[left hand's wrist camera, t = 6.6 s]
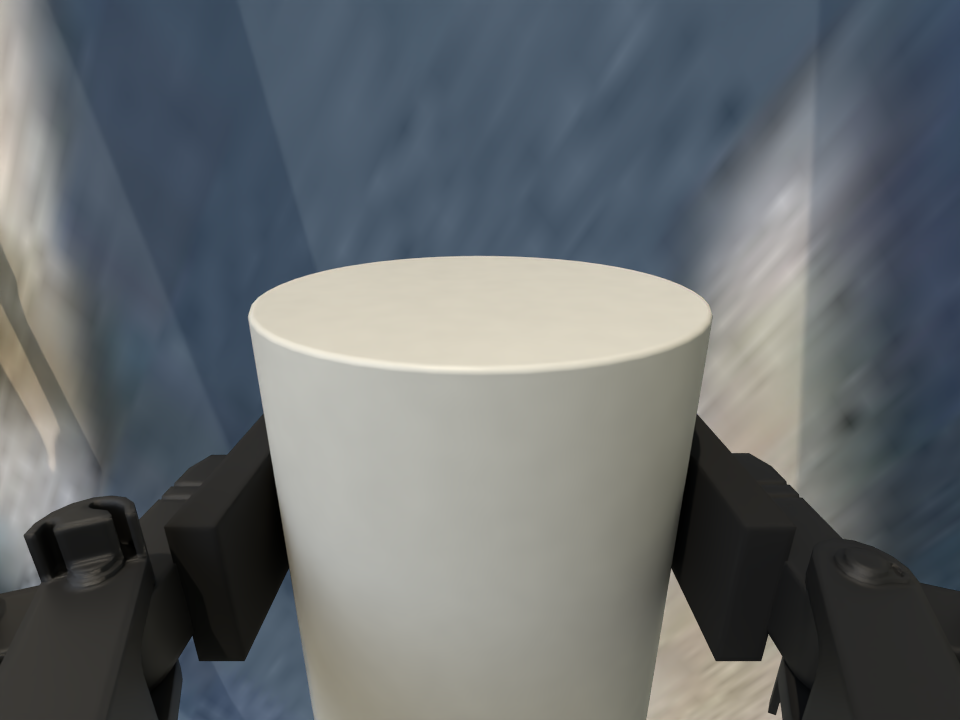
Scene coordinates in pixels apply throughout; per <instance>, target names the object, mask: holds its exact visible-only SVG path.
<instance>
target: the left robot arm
mask: <svg viewBox="0 0 960 720" xmlns="http://www.w3.org/2000/svg"><path fill="white" fill-rule="evenodd" d="M24 538H25V540H26V543H27V546H28V548H29V551H30V553H31V556H32V559H33V561H34V564H35V566H36V569H37V572H38V574H39V577H40V579H41V584H40V585H39V586H34V587H30V588H25V589H21V590H16V591H11V592H7V593H2V594H0V720H178V712H179V704H180V696H181V688H182V680H183V679H182V672H181V667H180V663H179V660H178V658H179V656H180V655H181V653H182V652H183V650H184V648H185V647H186V645H187V643H188V642H189V640H190V639H191V637H192V636H193V640H194V643H195V647H196V651H197V655H198V659H199V661H245V659H246V657H247V655H248V653H249V651H250V648H251V646H252V644H253V642H254V640H255V638H256V636H257V634H258V632H259V630H260V628H261V625H262V623H263V621H264V619H265V617H266V615H267V613H268V611H269V609H270V607H271V605H272V602H273V600H274V598H275V596H276V594H277V592H278V590H279V588H280V586H281V584H282V582H283V579H284V577H285V575H286V573H287V571H288V569H289V562H288V556H287V550H286V544H285V538H284V532H283V526H282V520H281V514H280V508H279V502H278V496H277V490H276V484H275V478H274V471H273V465H272V459H271V453H270V447H269V441H268V435H267V429H266V423H265V417H264V414H263V415H262V416H261V417H260V418H259V420H258V421H257V422H256V423H255V424H254V425H253V426H252V427H251V429H250V430H249V431H248V432H247V433H246V434H245V435H244V436H243V438H242V439H241V440H240V441H239V442H238V443H237V444H236V446H235V447H234V448H233V449H232V450H231V451H230V452H229V453H228V455H211V456H209V457H207V458H206V459H204V460H202V461H200V462H199V463H197V464H195V465H194V466H192V467H190V468H189V469H188V470H187V471H186V472H185V473H184V474H183V475H182V476H181V477H180V478H179V479H178V480H177V481H176V482H175V483H174V486H171V487H170V488H169V489H168V491H167V492H166V493H165V494H164V495H163V496H162V499H161V500H158V501H157V502H156V503H155V504H154V505H153V506H152V507H151V508H150V509H149V510H148V511H147V512H146V513H145V514H144V515H143V516H142V517H141V518H140V519H138V515H137V512H136V508H135V504H134V503H133V502H132V501H130V500H129V499H127V498H126V497H118V496H104V497H95V498H90V499H87V500H83V501H79V502H76V503H72V504H70V505H68V506H65V507H63V508H61V509H59V510H56V511H54V512H52V513H50V514H49V515H47V516H46V517H44V518H42V519H41V520H39V521H38V522H36V523H35V524H34V525H33V526H32V527H31V528H30V529H29V530H28V531H27V532H26V533H25V534H24ZM671 568H672V570H673V572H674V575H675V577H676V579H677V581H678V583H679V585H680V587H681V589H682V591H683V593H684V595H685V598H686V600H687V602H688V604H689V606H690V608H691V610H692V612H693V614H694V616H695V618H696V621H697V623H698V625H699V627H700V629H701V631H702V633H703V635H704V637H705V639H706V641H707V644H708V646H709V648H710V650H711V652H712V654H713V656H714V658H715V660H716V661H761V660H762V656H763V653H764V649H765V645H766V641H767V637H768V634H769V635H770V637H771V639H772V640H773V642H774V643H775V645H776V647H777V648H778V650H779V651H780V653H781V655H782V660H781V663H780V667H779V670H778V674H777V677H776V681H775V685H774V688H773V692H772V695H771V699H770V703H769V710H768V713H771V714H774V715H776V713H777V709H778V706H779V703H780V702H781V710H782V718H783V720H960V591H955V590H951V589H946V588H941V587H937V586H932V585H927V584H923V583H919V581H918V580H917V579H916V577H915V576H914V575H913V574H912V572H911V571H910V570H909V569H908V568H907V567H906V566H904V565H903V564H902V563H900V562H899V561H898V560H897V559H895V558H894V557H892V556H890V555H889V554H887V553H885V552H883V551H881V550H879V549H877V548H875V547H872V546H869V545H866V544H863V543H860V542H857V541H853V540H845V539H842V538H841V537H840V536H839V535H838V534H837V533H836V532H835V531H834V530H833V529H832V528H831V527H830V526H829V525H828V524H827V523H826V522H825V521H824V519H823V518H822V517H821V516H820V515H819V514H818V513H817V512H816V511H815V510H814V509H813V508H812V507H811V506H810V505H809V504H808V503H807V502H806V501H805V500H804V499H803V498H799V494H798V493H797V492H796V491H795V490H794V489H793V488H792V487H791V486H790V485H787V483H786V481H785V480H784V479H783V478H782V477H781V476H780V475H779V474H778V472H777V471H776V470H775V469H774V468H773V467H772V466H770V465H768V464H767V463H765V462H763V461H761V460H760V459H758V458H756V457H755V456H753V455H751V454H749V453H731V452H730V451H729V450H728V448H727V447H726V446H725V445H724V444H723V443H722V442H721V441H720V439H719V438H718V437H717V436H716V435H715V434H714V433H713V432H712V430H711V429H710V428H709V427H708V426H707V425H706V424H705V422H704V421H703V420H702V419H701V418H700V417H699V416H698V415H696V421H695V427H694V433H693V439H692V445H691V451H690V457H689V463H688V469H687V475H686V481H685V487H684V493H683V499H682V505H681V511H680V517H679V524H678V530H677V536H676V542H675V548H674V554H673V560H672V566H671Z"/></svg>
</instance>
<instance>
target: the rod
mask: <svg viewBox="0 0 960 720" xmlns="http://www.w3.org/2000/svg"><path fill="white" fill-rule="evenodd" d="M712 318H713V316H712V313H711V310H710V307H709V304H708V303H707V302H706V301H705V300H704V299H703V298H702V297H701V296H699V295H698V294H697V293H695V292H694V291H692V290H690V289H688V288H686V287H684V286H682V285H679V284H677V283H674V282H672V281H669V280H666V279H663V278H660V277H657V276H653V275H650V274H646V273H642V272H638V271H634V270H629V269H624V268H619V267H613V266H607V265H601V264H594V263H586V262H578V261H569V260H559V259H546V258H530V257H505V256H455V257H431V258H415V259H402V260H392V261H382V262H374V263H367V264H360V265H353V266H347V267H342V268H337V269H332V270H327V271H323V272H319V273H314V274H310V275H307V276H304V277H300V278H297V279H294V280H292V281H289V282H286V283H284V284H281V285H279V286H277V287H275V288H273V289H271V290H269V291H267V292H266V293H264V294H263V295H261V296H260V297H258V298H257V299H256V301H255V302H254V303H253V304H252V306H251V309H250V312H249V315H248V320H249V326H250V332H251V338H252V344H253V350H254V356H255V362H256V368H257V374H258V380H259V387H260V393H261V399H262V405H263V411H264V417H265V423H266V429H267V435H268V441H269V447H270V453H271V459H272V465H273V471H274V478H275V484H276V490H277V496H278V502H279V508H280V514H281V520H282V526H283V532H284V538H285V544H286V550H287V556H288V562H289V569H290V575H291V581H292V587H293V593H294V599H295V605H296V611H297V617H298V623H299V629H300V635H301V641H302V647H303V653H304V659H305V666H306V672H307V678H308V684H309V690H310V696H311V702H312V708H313V714H314V720H646V717H647V711H648V705H649V699H650V693H651V687H652V681H653V675H654V669H655V663H656V657H657V651H658V644H659V638H660V632H661V626H662V620H663V614H664V608H665V602H666V596H667V590H668V584H669V578H670V572H671V566H672V560H673V554H674V548H675V542H676V536H677V530H678V524H679V517H680V511H681V505H682V499H683V493H684V487H685V481H686V475H687V469H688V463H689V457H690V451H691V445H692V439H693V433H694V427H695V421H696V415H697V409H698V403H699V397H700V390H701V384H702V378H703V372H704V366H705V360H706V354H707V348H708V342H709V336H710V330H711V324H712Z"/></svg>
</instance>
